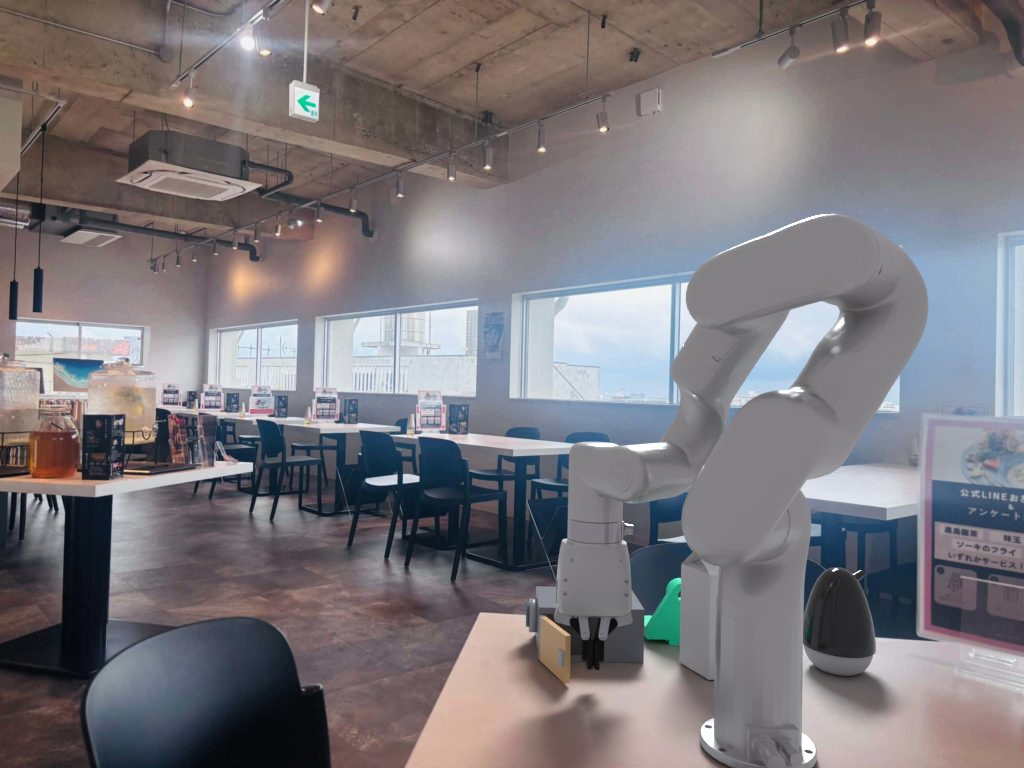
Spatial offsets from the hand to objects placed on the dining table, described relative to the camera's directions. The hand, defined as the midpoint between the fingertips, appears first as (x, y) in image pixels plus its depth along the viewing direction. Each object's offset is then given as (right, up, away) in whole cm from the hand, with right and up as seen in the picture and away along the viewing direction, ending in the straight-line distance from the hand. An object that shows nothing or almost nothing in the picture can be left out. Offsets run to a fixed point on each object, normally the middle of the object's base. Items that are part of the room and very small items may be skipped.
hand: (592, 665), depth 96 cm
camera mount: (+17, -4, +22) cm, 28 cm away
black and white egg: (+38, -4, +9) cm, 39 cm away
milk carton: (+19, -4, +8) cm, 21 cm away
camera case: (+1, -4, +16) cm, 16 cm away
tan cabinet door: (-5, -3, +5) cm, 8 cm away
